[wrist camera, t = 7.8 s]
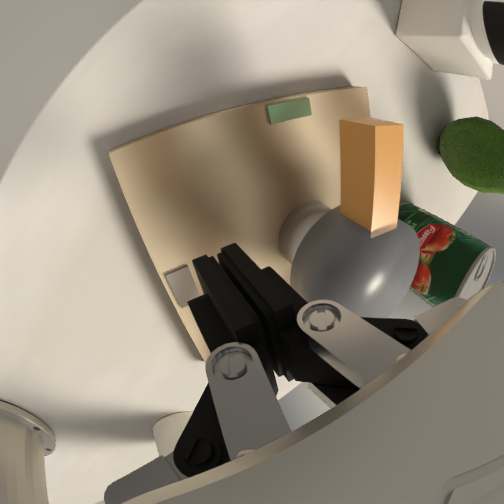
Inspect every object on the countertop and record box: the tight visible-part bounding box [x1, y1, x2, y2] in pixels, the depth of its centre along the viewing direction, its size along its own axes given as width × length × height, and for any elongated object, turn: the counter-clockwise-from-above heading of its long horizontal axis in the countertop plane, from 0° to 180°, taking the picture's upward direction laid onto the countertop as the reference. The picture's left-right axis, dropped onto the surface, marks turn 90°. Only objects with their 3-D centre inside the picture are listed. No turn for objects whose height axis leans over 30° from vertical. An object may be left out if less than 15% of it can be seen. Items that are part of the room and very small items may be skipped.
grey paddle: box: [290, 118, 420, 318], centre depth 16 cm, size 13×8×3 cm, turn 7°
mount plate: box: [108, 86, 370, 363], centre depth 20 cm, size 18×20×6 cm
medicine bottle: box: [396, 0, 504, 80], centre depth 14 cm, size 7×7×12 cm
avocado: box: [439, 117, 504, 194], centre depth 21 cm, size 8×8×12 cm
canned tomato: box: [398, 202, 496, 307], centre depth 25 cm, size 8×8×11 cm
